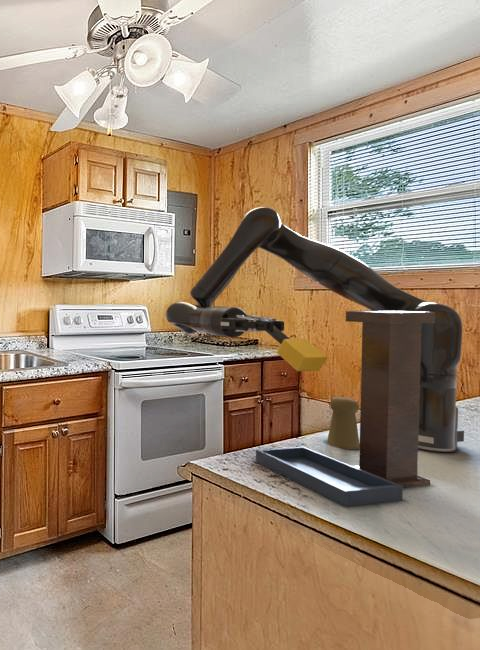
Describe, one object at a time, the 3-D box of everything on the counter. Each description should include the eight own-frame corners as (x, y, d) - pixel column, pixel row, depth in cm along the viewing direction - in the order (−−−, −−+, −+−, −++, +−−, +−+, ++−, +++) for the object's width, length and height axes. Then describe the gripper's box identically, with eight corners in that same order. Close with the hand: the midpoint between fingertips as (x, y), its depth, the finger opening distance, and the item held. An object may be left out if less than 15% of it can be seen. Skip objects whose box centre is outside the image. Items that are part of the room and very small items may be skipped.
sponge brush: (265, 325, 97) (271, 312, 96) (319, 370, 84) (327, 356, 82) (246, 325, 97) (252, 312, 95) (297, 371, 83) (305, 357, 81)
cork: (347, 440, 102) (348, 395, 102) (366, 449, 96) (368, 401, 96) (321, 439, 103) (322, 394, 103) (338, 448, 97) (339, 401, 97)
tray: (302, 457, 92) (303, 446, 92) (402, 500, 73) (403, 486, 72) (255, 461, 90) (255, 449, 90) (345, 506, 71) (345, 491, 70)
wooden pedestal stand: (384, 468, 86) (388, 310, 85) (430, 485, 78) (435, 312, 77) (342, 471, 84) (345, 311, 83) (385, 489, 76) (389, 312, 75)
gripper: (198, 306, 107) (249, 309, 90) (246, 306, 109) (305, 308, 92) (197, 336, 107) (248, 344, 90) (246, 335, 109) (305, 343, 92)
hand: (277, 326), depth 91 cm, fingers closed on sponge brush, 2 cm apart
